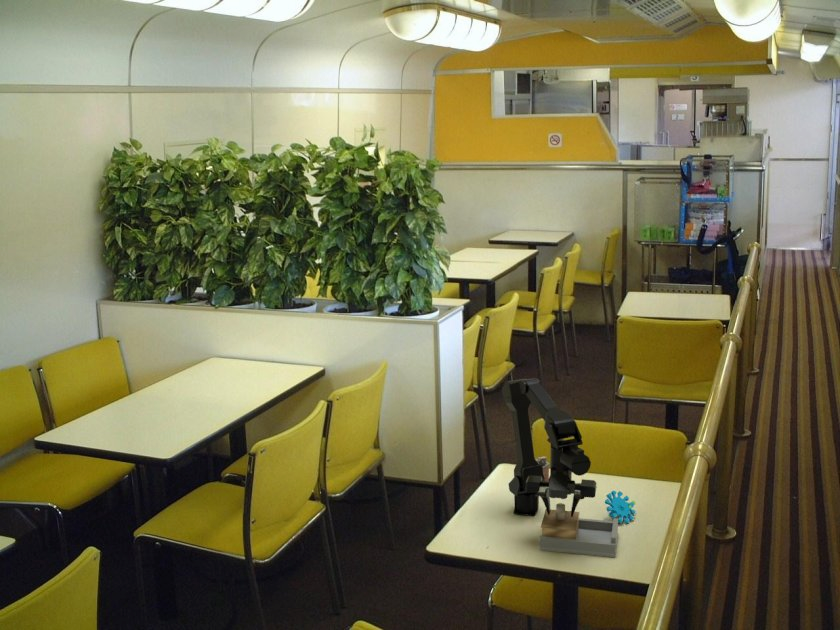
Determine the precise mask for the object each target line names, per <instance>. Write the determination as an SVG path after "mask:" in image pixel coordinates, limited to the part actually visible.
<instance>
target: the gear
mask: <svg viewBox="0 0 840 630" xmlns="http://www.w3.org/2000/svg"><path fill="white" fill-rule="evenodd" d="M623 495H624V493H623V492H622V491H620V490H619V491H618V492H617V491H616V490H612V491H610V493H607V495H605V496H606V499H605V501H604V504H606V505H609V506H607V507H606V511H607V512H608V515H609V516H611V518H612V519H613V518H617V516H619V518H617V519H618V524H622V523H623V522H624V524H630V522H631V521H633V520H634V519H635V517H634V515H635V514H636V510H634V509H633V507H634V505H636V501H635V500H631V502H627V501H629V500H630V497H629V496H628V495H625V496H624V497H622V496H623Z"/></svg>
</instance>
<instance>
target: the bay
mask: <svg viewBox="0 0 840 630" xmlns="http://www.w3.org/2000/svg"><path fill="white" fill-rule="evenodd" d="M612 519H613V520H606V519H605V520H602V519H592V518H580V517H579V528H578V534H577V539H567V538H556V537H545V536H542V535H540V536H539V551H547V552H557V551H558V552H557V553H568V554H577V555H588V556H589V555H590V556H599V557H606V558H607V557H609V558H616V554H617V543H618V534H619V531H618V530H619V522H618V519H619V518H617V517H616V518H612Z"/></svg>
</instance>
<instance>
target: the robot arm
mask: <svg viewBox="0 0 840 630" xmlns="http://www.w3.org/2000/svg"><path fill="white" fill-rule="evenodd" d="M501 393H502V396H503V399H504V403H505V405H506V406H507V407H508V408H509V410H510V411H511V415H512V416H511V417H512V424H513V430H514V431H513V432H514V439H515V445H516V447H515V448H516V456H517V461H516V464H515V466H514V468H513V478H512V479H511V480H510V481H509V482H508V489H509V492H510V493H511V494H513V496H514V497H513V498H514V505H513V506H514V509H513V513H512V514H513V515H518V516H519V515H520V516H532V517H535V516H536V515H537V513H538V511H539V507H540V505H539V504H540V502H539V501H540V499H541V500H542V502H543V504H544V507H545V510H547V513H548V515H550V509H551V500H550V499H561V500H566V499H567V498H568V496H570V495H572V494H573V497H572V505H571V510H570V511H571V517H573V514H574V511H575V510H576V509H577V506H578V504H579V502H580V501H581V500H585V498H590V499H591V498H592V499H593V498H596V492H597V482H596V481H595V479H583V478H582V479H581V482H576V481H575V480H573V478H572V477H573V476H572V475H575V476H578V477H579V476H581V477H582V476H584V475H585V474H587V473H588V471H589V470H590V469H591V465H592V464H591V463H592V461H591V459H590V457H589V456H588V455H586V454H585V450H584V449H583V448H580V447H579V446H583V444H584V443H583V439H582V438H583V436H582V434H581V432H580V430H579V427H578V425H577V422H576V420H575V419H574V418H573V417H572V416H571V415H570V414H569V413H568V412H567V411H564V410H563V409H560V408H559V407H557V406H558V405H556V403H555V402H554V400H553V399H552V398H551V397H550V395H549V394H548V393H547V392H546V390H545V389H544V388H543V386H542V383H541V381H540V379H539V378H535V377H533V378H528V379H526V378H522V379H520V378H519V379H515V380H508V381H505V383H504V384H503V386H502V388H501ZM531 404H532V406H533V407H534V408H535V409H536V412H538V414H539V415H540V417H541V418H542V419H543V421H544V424H543V425H544V427H543V428H544V430H545V432H546V435H547V436H548V437H547V442H548V443H550V462H549V463H550V466H549V481H544V480H545V479H544V475H543V467H542V465H539V464H538V462H537V461H536V458H535V452H534V451H535V449H534V444H533V443H534V442H533V435H532V427H531V419H530V412H529V409H530V407H531ZM569 438H570V439H569ZM572 473H573V474H572ZM575 512H576V511H575Z"/></svg>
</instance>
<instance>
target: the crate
mask: <svg viewBox="0 0 840 630" xmlns="http://www.w3.org/2000/svg"><path fill="white" fill-rule="evenodd" d="M555 507H556V508H555V509H552V508H550V515H548V513H547V510H546V509H545V510H544V513H543V518H542V521H541V525H540V528H541V536H545V537H556V538H567V539H577V534H578V528H579V518H580V511H574V514H573V517H571V510H566V504H564V503H561V502H559V503H556V504H555Z"/></svg>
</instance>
